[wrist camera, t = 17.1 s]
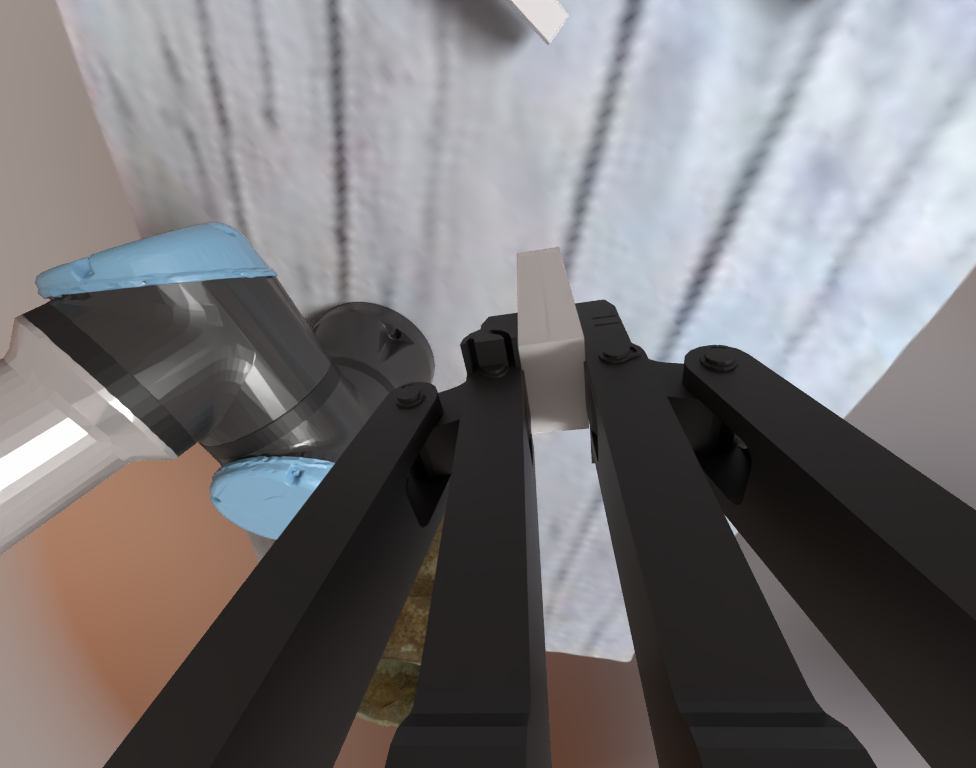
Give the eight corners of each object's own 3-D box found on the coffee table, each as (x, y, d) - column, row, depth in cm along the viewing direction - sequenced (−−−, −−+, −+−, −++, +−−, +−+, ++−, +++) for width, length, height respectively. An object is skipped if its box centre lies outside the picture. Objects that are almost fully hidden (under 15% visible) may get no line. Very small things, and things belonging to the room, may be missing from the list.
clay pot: (373, 560, 78) (318, 727, 58) (352, 466, 63) (269, 647, 43) (510, 573, 77) (502, 749, 57) (521, 481, 62) (517, 674, 42)
